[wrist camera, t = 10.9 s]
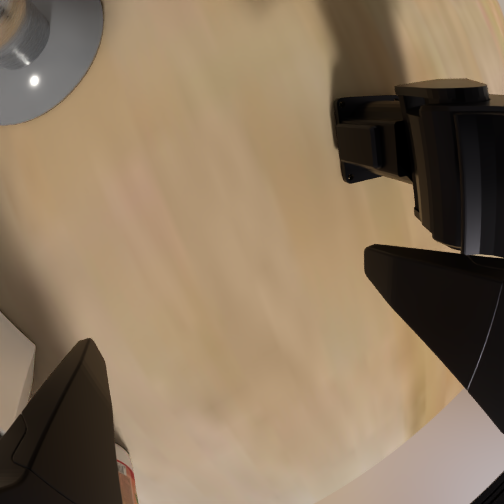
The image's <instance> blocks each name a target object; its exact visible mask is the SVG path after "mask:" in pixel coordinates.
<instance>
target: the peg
mask: <svg viewBox="0 0 504 504" xmlns="http://www.w3.org/2000/svg"><path fill="white" fill-rule="evenodd" d="M49 34H50V27H49V23H48V21H47V19H46V18H45V17H44V15H43V14H42V13H41V12H40V11H39V10H38V9H37V8H36V6H35V5H34V4H33V3H32V2H31V1H30V0H0V67H3V68H6V69H9V70H16V69H21V68H23V67H25V66H27V65H29V64H30V63H32V62H33V61H34V60H35V59H36V58H37V57H38V56H39V55H40V54H41V53H42V51H43V50H44V48H45V46H46V44H47V42H48V39H49Z"/></svg>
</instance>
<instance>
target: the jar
mask: <svg viewBox="0 0 504 504" xmlns="http://www.w3.org/2000/svg"><path fill="white" fill-rule="evenodd" d="M35 349H36V346H35V345H34V344H33V343H32V342H31V341H30V340H29V339H28V338H27V337H26V336H25V335H24V334H23V333H22V332H21V331H19V330H18V329H17V328H16V327H15V326H14V325H13V324H12V323H11V322H10V321H9V320H8V319H7V318H6V317H5V316H4V315H3V314H2V313H1V312H0V439H1V438H2V436H3V435H4V434H5V433H6V432H7V430H8V429H9V428H10V426H11V425H12V424H13V422H14V421H15V420H16V418H17V417H18V416H19V414H22V413H21V412H22V411H23V409H24V408H25V407H26V405H27V404H28V399H29V395H30V391H31V387H32V384H33V370H34V359H35Z"/></svg>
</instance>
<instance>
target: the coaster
mask: <svg viewBox="0 0 504 504" xmlns="http://www.w3.org/2000/svg"><path fill="white" fill-rule="evenodd" d="M30 1H31V2H32V3H33V4H34V5H35V6H36V8H37V9H38V10H39V11H40V12H41V13H42V14H43V15H44V17H45V18H46V19H47V21H48V23H49V27H50V34H49V39H48V42H47V44H46V46H45V48H44V50H43V51H42V53H41V54H40V55H39V56H38V57H37V58H36V59H35V60H34V61H33V62H32V63H30V64H29V65H27V66H25V67H23V68H21V69H16V70H9V69H6V68H3V67H0V125H16V124H20V123H25V122H28V121H30V120H33V119H35V118H37V117H39V116H41V115H43V114H45V113H47V112H48V111H50V110H51V109H53V108H54V107H56V106H57V105H58V104H59V103H61V102H62V101H63V100H64V99H65V98H66V97H67V96H68V95H69V94H70V93H71V92H72V91H73V90H74V89H75V88H76V87H77V86H78V84H79V83H80V82H81V80H82V79H83V78H84V76H85V75H86V74H87V72H88V70H89V68H90V67H91V65H92V63H93V61H94V59H95V57H96V55H97V52H98V49H99V46H100V43H101V39H102V35H103V26H104V18H103V10H102V5H101V2H100V0H30Z"/></svg>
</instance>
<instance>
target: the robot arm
mask: <svg viewBox="0 0 504 504" xmlns="http://www.w3.org/2000/svg"><path fill="white" fill-rule="evenodd" d="M394 87H395V92H396V95H384V96H361V97H346V98H337V99H336V100H335V101H334V110H335V117H336V124H337V126H336V132H337V139H338V148H339V156H340V160H341V166H342V176H343V180H344V181H345V182H346V183H349V184H352V183H356V182H360V181H364V180H368V179H373V178H377V177H381V176H385V177H388V178H392V179H395V180H399V181H402V182H406V183H409V184H412V185H413V189H414V198H415V207H414V214H415V216H416V217H417V218H418V219H419V220H420V221H421V222H422V225H423V226H424V227H425V228H426V229H428V230H429V231H430V232H431V233H432V238H433V239H434V240H436V241H437V242H440V243H442V244H444V245H446V246H448V247H450V248H452V249H456V250H460V251H461V254H458V253H449V252H441V251H433V250H424V249H416V248H407V247H398V246H389V245H380V244H374V245H371V246H368V247H366V248H365V250H364V270H365V274H366V276H367V277H368V279H369V280H370V281H371V282H372V284H373V285H374V286H375V287H376V289H377V290H378V291H379V293H380V294H381V295H382V296H383V298H384V299H385V300H386V301H387V303H388V304H389V305H390V306H391V307H392V309H393V310H394V311H395V312H396V313H397V314H398V315H399V316H400V317H401V318H402V319H403V320H404V321H405V322H406V323H407V324H408V325H409V327H410V328H411V329H412V330H413V331H414V332H415V333H416V334H417V335H418V336H419V337H420V338H421V339H422V340H423V342H424V343H425V344H426V345H427V346H428V347H429V348H430V349H431V350H432V351H433V352H434V354H435V355H436V356H437V357H438V358H439V359H440V360H441V361H442V362H443V364H444V365H445V366H446V367H447V368H448V369H449V370H450V371H451V373H452V374H453V375H454V376H455V377H456V378H457V379H458V381H459V382H460V383H461V384H462V385H463V386H464V387H465V389H466V390H468V392H469V394H470V395H471V396H472V397H473V398H474V399H475V401H476V402H477V403H478V404H479V405H480V407H481V408H482V409H483V410H484V411H485V412H486V414H487V415H488V416H489V417H490V419H491V420H492V421H493V422H494V424H495V425H496V426H497V427H498V429H499V430H500V431H501V432H502V433H503V434H504V95H494V94H488V88H487V85H486V84H483V83H480V82H477V81H473V80H469V79H436V80H429V81H422V82H416V83H409V84H403V85H398V86H394ZM397 95H398V96H397ZM394 99H395V101H394ZM340 102H341V103H342V107H340ZM349 174H350V175H351V177H350V179H349V178H348V176H349ZM475 254H484V255H494V256H498V257H503V258H492V257H483V256H474V255H475ZM21 413H22V414H19V416H18V417H17V418H16V420H15V421H14V422H13V424H12V425H11V426H10V428H9V429H8V430H7V432H6V433H5V434H4V435H3V436H2V438H1V439H0V504H123V501H122V495H121V488H120V481H119V474H118V466H117V458H116V448H115V437H114V425H113V411H112V403H111V396H110V390H109V384H108V377H107V370H106V364H105V361H104V358H103V357H102V355H101V353H100V351H99V350H98V348H97V346H96V344H95V342H94V341H93V340H92V339H91V338H87V339H84V340H80V341H79V342H78V343H77V344H76V345H75V346H74V347H73V349H72V350H71V351H70V352H69V353H68V354H67V356H66V357H65V358H64V359H63V360H62V362H61V363H60V364H59V365H58V366H57V368H56V369H55V370H54V371H53V373H52V374H51V375H50V376H49V377H48V379H47V380H46V381H45V382H44V384H43V385H42V386H41V387H40V389H39V390H38V391H37V393H36V394H35V395H34V396H33V398H32V399H31V400H30V401H29V403H28V404H27V405H26V407H25V408H24V409H23V411H22V412H21ZM470 504H504V472H502V473H501V474H500V476H499V477H497V479H496V480H495V481H494V482H493V483H492V484H491V485H490V486H489V487H488V488H486V489H485V490H484V491H483V492H482V493H481V494H480V495H479V496H478V497H477V498H476V499H475V500H474V501H473V502H471V503H470Z"/></svg>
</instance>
